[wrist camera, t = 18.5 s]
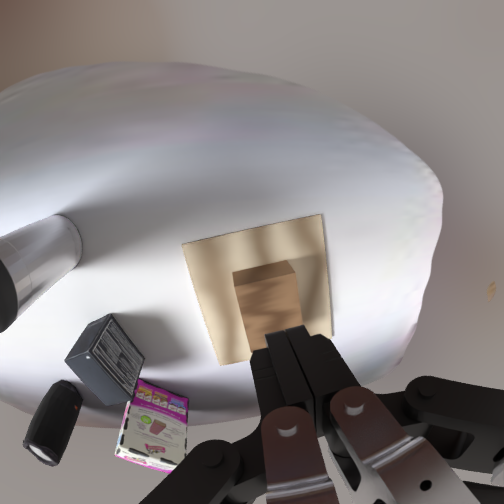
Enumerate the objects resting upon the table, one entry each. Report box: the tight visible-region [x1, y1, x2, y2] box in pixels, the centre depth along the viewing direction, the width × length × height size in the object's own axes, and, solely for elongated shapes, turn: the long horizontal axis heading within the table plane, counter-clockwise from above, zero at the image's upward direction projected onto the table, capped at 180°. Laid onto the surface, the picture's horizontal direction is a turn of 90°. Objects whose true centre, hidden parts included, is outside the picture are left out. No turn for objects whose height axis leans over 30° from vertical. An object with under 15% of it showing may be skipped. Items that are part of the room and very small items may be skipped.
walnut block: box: [232, 260, 303, 353], centre depth 39 cm, size 8×5×11 cm
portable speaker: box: [23, 380, 83, 466], centre depth 35 cm, size 9×9×20 cm
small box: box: [64, 314, 145, 406], centre depth 36 cm, size 11×6×10 cm, turn 25°
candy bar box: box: [115, 379, 189, 473], centre depth 38 cm, size 11×5×16 cm, turn 58°
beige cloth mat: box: [182, 214, 332, 366], centre depth 41 cm, size 20×22×1 cm
